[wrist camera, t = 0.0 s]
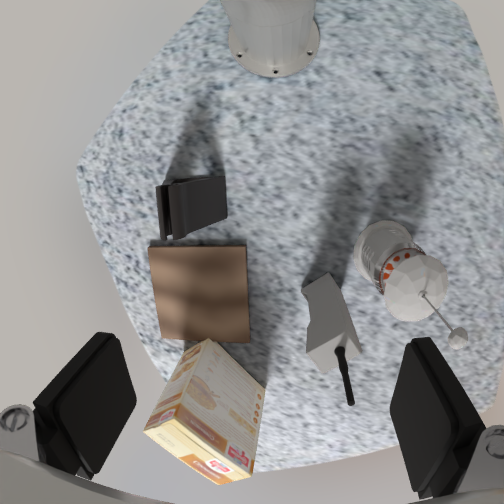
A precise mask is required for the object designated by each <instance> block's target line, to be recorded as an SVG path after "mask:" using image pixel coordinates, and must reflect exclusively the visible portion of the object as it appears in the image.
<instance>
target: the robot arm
mask: <svg viewBox="0 0 504 504" xmlns="http://www.w3.org/2000/svg"><path fill="white" fill-rule="evenodd" d="M220 1H221V4H222V6H223V8H224V10H225V12H226V14H227V17H228V19H229V21H230V23H231V26H230V29H229V32H228V43H229V48H230V50H231V53H232V55H233V56H234V58H235V59H236V61H237V62H238V63H239V64H240V65H241V66H242V67H243V68H245V69H246V70H248V71H250V72H251V73H253V74H256V75H259V76H263V77H268V78H280V77H287V76H290V75H293V74H296V73H298V72H299V71H301V70H303V69H304V68H305V67H307V66H308V65H309V64H310V63H311V62H312V60H313V59H314V57H315V55H316V53H317V51H318V48H319V42H320V37H319V31H318V28H317V25H316V23H315V21H314V20H313V15H314V10H315V5H316V0H220ZM308 53H310V54H311V56H309V55H308ZM239 55H242V57H240V58H239ZM274 71H277V72H278V73H277V74H275V73H274ZM136 401H137V400H136V394H135V391H134V388H133V385H132V382H131V378H130V375H129V372H128V369H127V365H126V362H125V358H124V354H123V351H122V347H121V343H120V340H119V339H118V338H116V336H115V335H114V334H112V333H104V332H97V333H96V334H95V335H94V336H93V337H92V338H91V339H90V340H89V341H88V342H87V343H86V344H85V345H84V346H83V347H82V348H81V350H80V351H79V352H78V353H77V354H76V355H75V356H74V357H73V358H72V359H71V360H70V361H69V362H68V364H67V365H66V366H65V367H64V368H63V369H62V370H61V371H60V372H59V374H57V376H56V377H55V378H54V379H53V380H52V381H51V382H50V383H49V384H48V386H47V387H46V388H45V389H44V390H43V391H42V392H41V393H40V394H39V396H38V397H37V398H36V399H35V400H34V401H33V404H34V406H35V409H34V410H33V411H32V410H31V409H30V407H28V406H26V405H21V404H19V405H13V406H10V407H8V408H6V409H4V410H3V411H2V412H1V413H0V504H173V503H168V502H163V501H158V500H154V499H150V498H146V497H141V496H138V495H133V494H130V493H126V492H123V491H119V490H116V489H113V488H110V487H106V486H103V485H100V484H97V483H94V482H91V481H88V480H92V478H93V476H94V474H97V473H99V472H100V470H101V468H102V466H103V464H104V462H105V461H106V459H107V457H108V455H109V453H110V451H111V450H112V448H113V446H114V444H115V442H116V440H117V439H118V437H119V435H120V433H121V431H122V429H123V428H124V425H125V424H126V422H127V420H128V419H129V417H130V415H131V413H132V412H133V409H134V408H135V406H136ZM390 415H391V418H392V421H393V424H394V428H395V431H396V434H397V438H398V441H399V444H400V448H401V451H402V454H403V458H404V461H405V465H406V469H407V472H408V476H409V480H410V483H411V487H412V490H413V491H414V492H418V496H419V499H424V498H428V497H432V496H433V498H432V499H428V500H424V501H419V502H414V503H409V504H504V426H503V425H494V426H491V427H489V428H487V429H486V427H485V425H484V423H483V421H482V420H481V418H480V416H479V414H478V413H477V411H476V409H475V407H474V406H473V404H472V402H471V401H470V399H469V397H468V395H467V394H466V392H465V390H464V389H463V387H462V386H461V384H460V382H459V381H458V379H457V377H456V376H455V374H454V373H453V371H452V370H451V368H450V366H449V365H448V363H447V362H446V360H445V359H444V357H443V356H442V354H441V353H440V351H439V350H438V348H437V347H436V345H435V344H434V342H433V341H432V339H431V338H430V337H423V338H414V339H412V341H411V343H408V344H407V345H406V347H405V351H404V356H403V360H402V364H401V368H400V372H399V375H398V379H397V383H396V386H395V390H394V394H393V397H392V400H391V404H390ZM76 474H77V475H78V476H80V477H83V478H85V479H83V478H80V477H77V476H75V475H76ZM86 479H88V480H86Z"/></svg>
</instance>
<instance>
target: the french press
mask: <svg viewBox="0 0 504 504" xmlns="http://www.w3.org/2000/svg"><path fill="white" fill-rule="evenodd" d="M415 246H417V247H419V246H418V245H417V244H415V243H414V242H413V241H412V237H411V235H410V234H409V232H408V231H407V230H406V228H405V227H404V226H402V225H400V224H398V223H397V222H395V221H384V220H381V221H379V222H376V223H373V224H371V225H369V226H368V227H367V228H366V229H365V230H364V231H363V232H361V233H360V235H359V237H358V239H357V241H356V243H355V245H354V255H353V259H354V262H355V265H356V268H357V270H358V271H359V272H360V274H361V275H362V276H363V277H364V278H365V279H368V280H370V281H372V282H373V284H374V285H375V287H376V288H377V289H379V290H378V291H379V292H380V293H381V294H382V295H384V299H385V303H386V308H387V309H388V310H389V312H390V313H391V314H392V315H393V316H394V317H395V318H398V319H400V320H402V321H420V320H421V319H423V318H426V317H428V316H430V315H431V314H432V313H433V312H434V311H435V312H436V313H437V314H438V315H439V317H440V318H441V319H442V320H443V322H444V323H445V324H446V325H447V327H448V328H449V329H450V330H451V333H450V335H449V337H448V343H449V345H450V346H451V347H452V348H453V349H457V350H458V349H460V348H463V347H464V346H465V344H466V343H467V341H468V334H467V331H466V330H465V329H464V328H462V327H459V328H456V329H454V330H453V329H452V328H451V327H450V325H449V324H448V323H447V322H446V320H445V319H444V318H443V317H442V316H441V314H440V313H439V312H438V311H437V310H436V309H438V308H439V306H440V304H441V303H442V301H443V299H444V298H445V296H446V292H447V287H448V276H447V271H446V269H445V267H444V266H443V264H442V263H441V261H439V260H438V259H436V258H434V257H432V256H428V255H426V254H425V252H424V251H423V250H422V249H421V247H419V248H420V249H421V250H422V251H423V252H421V250H420V249H419V250H418V248H417V247H416V248H415ZM376 283H377V284H376ZM378 284H379V285H380V286H379V285H378ZM376 285H377V286H379V287H380V288H381V289H380V288H379V287H377V286H376ZM380 290H381V291H382V292H381V291H380Z"/></svg>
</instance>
